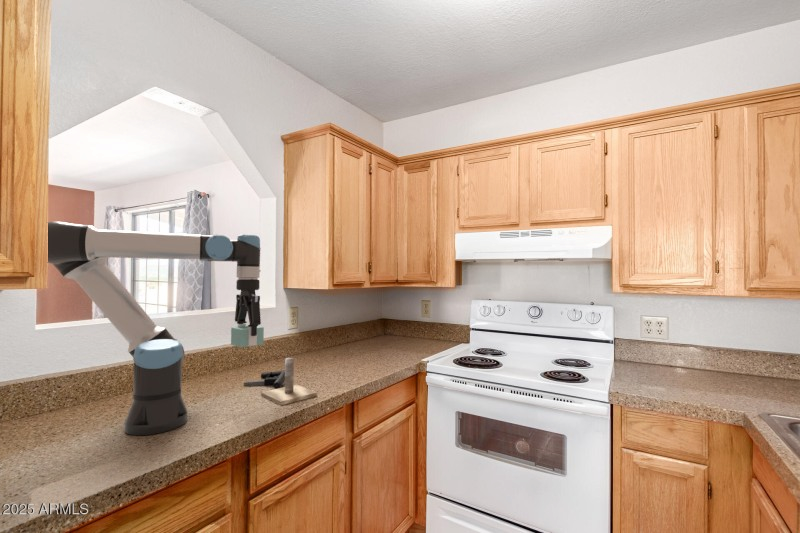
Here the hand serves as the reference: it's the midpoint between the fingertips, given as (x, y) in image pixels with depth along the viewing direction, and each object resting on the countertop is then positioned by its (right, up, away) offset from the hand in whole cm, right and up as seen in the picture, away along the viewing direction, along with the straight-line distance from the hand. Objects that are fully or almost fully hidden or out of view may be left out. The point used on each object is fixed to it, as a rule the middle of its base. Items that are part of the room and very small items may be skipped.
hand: (246, 343), depth 131 cm
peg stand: (+14, -19, +3) cm, 24 cm away
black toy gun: (0, -20, +19) cm, 28 cm away
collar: (0, 0, 0) cm, 0 cm away
